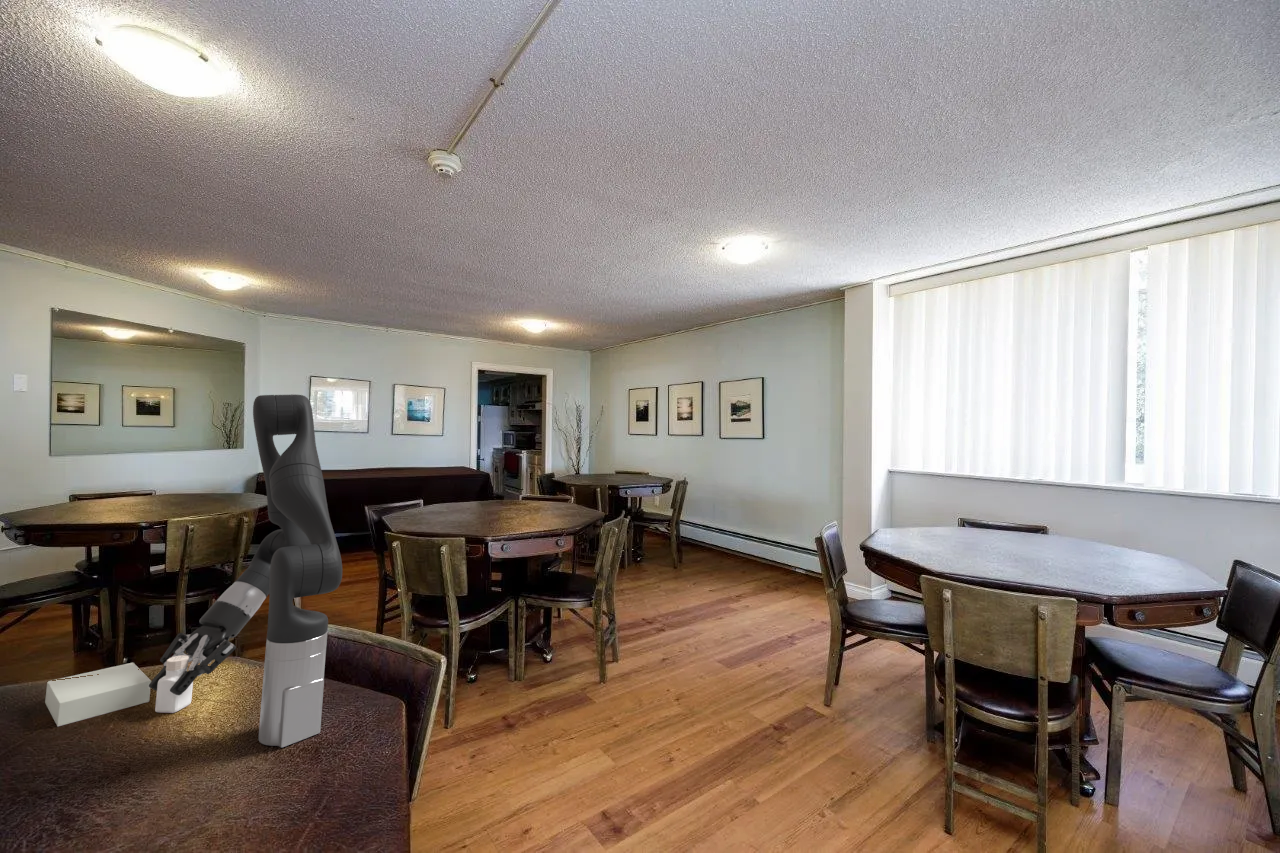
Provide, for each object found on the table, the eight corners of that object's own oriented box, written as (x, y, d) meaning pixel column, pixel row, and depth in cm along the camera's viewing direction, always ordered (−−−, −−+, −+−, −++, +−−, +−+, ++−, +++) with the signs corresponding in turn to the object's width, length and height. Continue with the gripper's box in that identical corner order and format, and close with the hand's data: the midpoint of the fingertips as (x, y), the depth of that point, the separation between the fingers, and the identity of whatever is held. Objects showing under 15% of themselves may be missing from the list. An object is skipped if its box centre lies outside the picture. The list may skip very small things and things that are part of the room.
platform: (149, 701, 100) (151, 680, 100) (57, 726, 90) (60, 703, 91) (131, 681, 108) (133, 662, 108) (45, 702, 98) (47, 681, 98)
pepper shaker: (174, 714, 96) (179, 662, 96) (153, 713, 96) (157, 662, 96) (192, 704, 100) (197, 654, 100) (172, 703, 100) (176, 654, 100)
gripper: (196, 596, 108) (121, 677, 96) (248, 603, 104) (177, 688, 92) (220, 614, 113) (151, 693, 100) (271, 621, 109) (205, 705, 97)
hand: (164, 690), depth 96 cm, fingers open, 5 cm apart
